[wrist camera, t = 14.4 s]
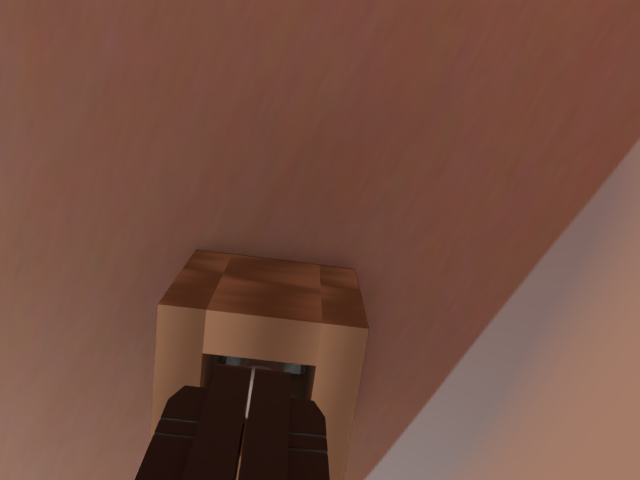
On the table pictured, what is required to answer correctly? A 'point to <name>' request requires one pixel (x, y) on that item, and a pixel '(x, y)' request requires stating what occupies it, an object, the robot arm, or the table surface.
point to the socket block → (266, 333)
